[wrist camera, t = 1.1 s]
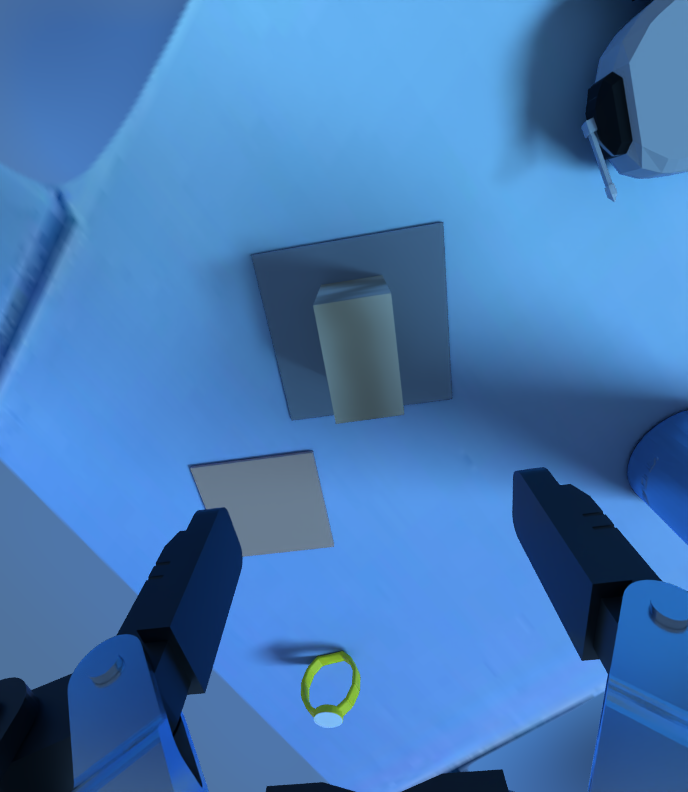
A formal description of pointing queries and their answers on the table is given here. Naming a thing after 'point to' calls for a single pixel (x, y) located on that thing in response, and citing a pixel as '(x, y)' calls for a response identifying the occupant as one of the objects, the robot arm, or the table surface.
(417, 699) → the table surface
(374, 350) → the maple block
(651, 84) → the robot toy
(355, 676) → the watch
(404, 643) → the table surface
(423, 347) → the board
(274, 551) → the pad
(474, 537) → the table surface
